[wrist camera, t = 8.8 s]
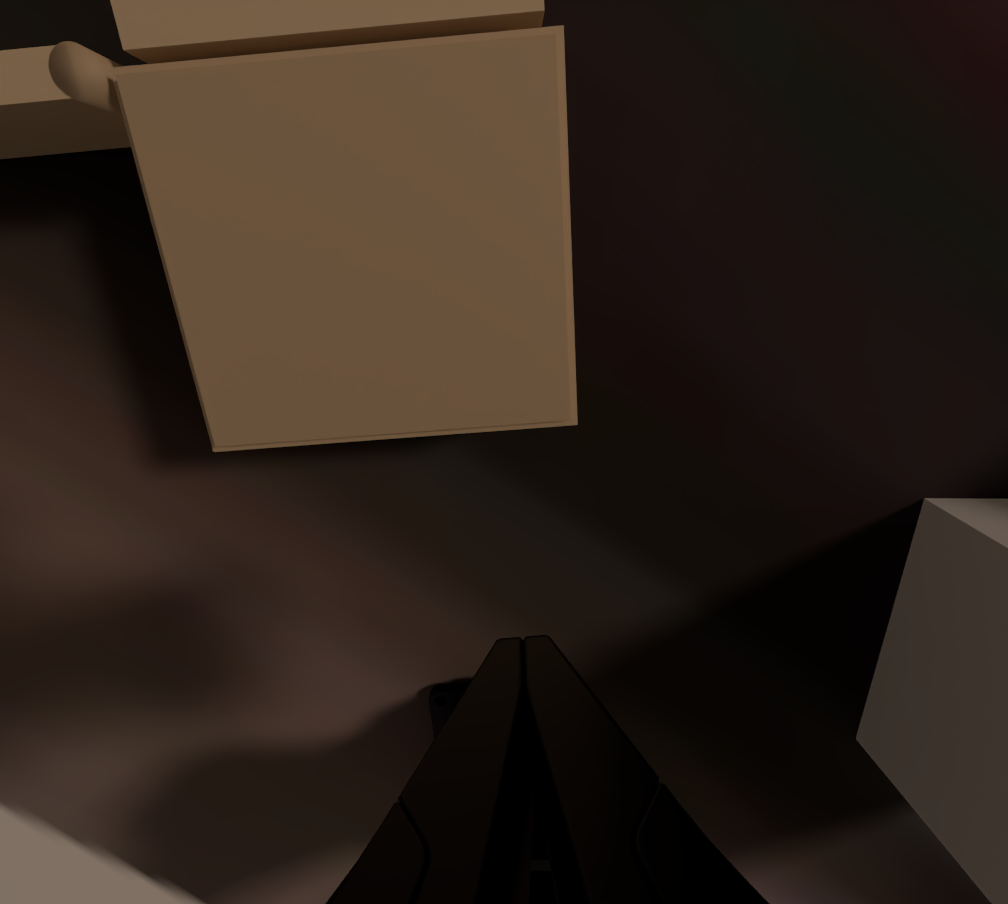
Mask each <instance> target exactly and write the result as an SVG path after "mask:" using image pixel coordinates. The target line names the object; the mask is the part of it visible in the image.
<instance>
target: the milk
mask: <svg viewBox="0 0 1008 904" xmlns="http://www.w3.org/2000/svg"><path fill="white" fill-rule="evenodd" d="M856 740H857V741H858V742H859V743H860V745H861V746H862V747H863V748H864V749H865V751H866V752H867V753H868V754H869V756H870V757H871V758H872V759H873V760H874V762H875V763H876V764H877V765H878V766H879V768H880V769H881V770H882V771H883V772H884V774H885V775H886V776H887V777H888V779H889V780H890V781H891V782H892V783H893V785H894V786H895V787H896V788H897V789H898V791H899V792H900V793H901V794H902V795H903V797H904V798H905V799H906V800H907V802H908V803H909V804H910V805H911V806H912V808H913V809H914V810H915V811H916V812H917V814H918V815H919V816H920V817H921V818H922V820H923V821H924V822H925V823H926V825H927V826H928V827H929V828H930V829H931V831H932V832H933V833H934V834H935V835H936V837H937V838H938V839H939V840H940V841H941V843H942V844H943V845H944V846H945V848H946V849H947V850H948V851H949V852H950V854H951V855H952V856H953V857H954V858H955V860H956V861H957V862H958V863H959V864H960V866H961V867H962V868H963V869H964V871H965V872H966V873H967V874H968V875H969V877H970V878H971V879H972V880H973V881H974V883H975V884H976V885H977V886H978V887H979V889H980V890H981V891H982V892H983V894H984V895H985V896H986V897H987V898H988V900H989V901H990V902H991V903H992V904H1008V499H954V498H924V501H923V504H922V508H921V511H920V515H919V518H918V522H917V525H916V529H915V532H914V536H913V539H912V543H911V546H910V550H909V553H908V557H907V560H906V564H905V567H904V571H903V574H902V578H901V581H900V585H899V588H898V592H897V595H896V599H895V602H894V606H893V609H892V613H891V616H890V620H889V623H888V627H887V630H886V634H885V637H884V641H883V644H882V648H881V651H880V655H879V658H878V662H877V665H876V669H875V672H874V676H873V679H872V683H871V686H870V690H869V693H868V697H867V700H866V704H865V707H864V711H863V714H862V718H861V721H860V725H859V728H858V732H857V735H856Z"/></svg>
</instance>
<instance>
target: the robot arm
mask: <svg viewBox="0 0 1008 904" xmlns="http://www.w3.org/2000/svg"><path fill="white" fill-rule="evenodd" d="M439 696H441V697H444V699H439V698H438V697H439ZM429 705H430V711H431V718H432V724H433V731H434V737H435V740H434V741H433V743H432V745H431V746H430V748H429V749H428V751H427V753H426V754H425V756H424V757H423V759H422V761H421V762H420V764H419V765H418V767H417V769H416V770H415V772H414V773H413V775H412V777H411V778H410V780H409V781H408V783H407V785H406V786H405V788H404V789H403V791H402V793H401V794H400V796H399V797H398V802H396V803H395V804H394V805H393V806H392V808H391V810H390V811H389V813H388V815H387V816H386V818H385V819H384V821H383V823H382V824H381V826H380V827H379V829H378V830H377V832H376V833H375V835H374V836H373V838H372V839H371V841H370V842H369V844H368V845H367V847H366V848H365V850H364V851H363V853H362V855H361V856H360V858H359V859H358V861H357V862H356V863H355V865H354V866H353V867H352V869H351V870H350V871H349V873H348V874H347V876H346V877H345V878H344V880H343V881H342V882H341V884H340V885H339V886H338V888H337V889H336V890H335V892H334V893H333V894H332V896H331V897H330V898H329V900H328V901H327V902H326V904H769V903H768V902H767V901H766V900H765V899H764V898H763V897H762V896H761V895H760V894H759V893H758V891H757V890H756V889H755V888H754V887H753V886H752V885H751V884H750V883H749V882H748V881H747V880H746V879H745V878H744V877H743V876H742V875H741V874H740V873H739V872H738V870H737V869H736V868H735V867H734V866H733V865H732V864H731V863H730V862H729V861H728V860H727V859H726V857H725V856H724V855H723V854H722V853H721V852H720V851H719V850H718V849H717V848H716V847H715V846H714V845H713V843H712V842H711V841H710V840H709V839H708V838H707V837H706V835H705V834H704V833H703V832H702V831H701V829H700V828H699V827H698V826H697V824H696V823H695V822H694V821H693V820H692V818H691V817H690V816H689V815H688V814H687V812H686V811H685V810H684V809H683V808H682V806H681V805H680V804H679V802H678V801H677V800H676V799H675V797H674V796H673V795H672V793H671V792H670V791H669V789H668V788H667V787H666V786H665V785H664V784H661V780H660V778H659V777H658V776H657V774H656V773H655V772H654V771H653V769H652V768H651V767H650V765H649V764H648V763H647V762H646V760H645V759H644V758H643V756H642V755H641V754H640V753H639V751H638V750H637V749H636V747H635V746H634V745H633V743H632V742H631V741H630V740H629V738H628V737H627V736H626V734H625V733H624V732H623V731H622V729H621V728H620V727H619V725H618V724H617V723H616V722H615V720H614V719H613V718H612V716H611V715H610V714H609V713H608V711H607V710H606V709H605V707H604V706H603V705H602V704H601V702H600V701H599V700H598V698H597V697H596V696H595V695H594V693H593V692H592V691H591V689H590V688H589V687H588V685H587V684H586V683H585V682H584V680H583V679H582V678H581V676H580V675H579V674H578V673H577V671H576V670H575V669H574V667H573V666H572V665H571V664H570V662H569V661H568V660H567V658H566V657H565V656H564V655H563V653H562V652H561V651H560V649H559V648H558V647H557V646H556V644H555V643H554V642H553V640H552V639H551V638H550V637H549V636H547V635H539V636H527V637H525V638H524V640H522V639H521V638H520V637H514V638H501V639H498V640H497V641H496V642H495V644H494V645H493V647H492V649H491V650H490V652H489V653H488V655H487V657H486V658H485V660H484V661H483V663H482V665H481V666H480V668H479V669H478V671H477V673H476V674H475V676H474V677H473V679H472V681H471V682H470V683H464V684H449V685H438V686H435V687H434V688H432V690H431V691H430V697H429Z"/></svg>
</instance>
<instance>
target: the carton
mask: <svg viewBox="0 0 1008 904" xmlns="http://www.w3.org/2000/svg"><path fill="white" fill-rule="evenodd" d="M110 1H111V5H112V9H113V12H114V16H115V20H116V24H117V28H118V32H119V35H120V39H121V43H122V47H123V50H124V51H126V52H128V53H130V54H131V55H133V56H135V57H137V58H139V59H141V60H142V61H144V62H146V63H148V64H145V65H134V66H124V67H113V68H110V71H111V75H112V78H113V82H114V86H115V89H116V93H117V97H118V100H119V104H120V108H121V112H122V115H123V119H124V123H125V126H126V130H127V134H128V137H129V141H130V145H131V149H132V152H133V156H134V160H135V163H136V167H137V171H138V175H139V178H140V182H141V186H142V189H143V193H144V197H145V200H146V204H147V208H148V212H149V215H150V219H151V223H152V226H153V230H154V234H155V238H156V241H157V245H158V249H159V252H160V256H161V260H162V263H163V267H164V271H165V275H166V278H167V282H168V286H169V289H170V293H171V297H172V301H173V304H174V308H175V312H176V315H177V319H178V323H179V326H180V330H181V334H182V338H183V341H184V345H185V349H186V352H187V356H188V360H189V364H190V367H191V371H192V375H193V378H194V382H195V386H196V389H197V393H198V397H199V401H200V404H201V408H202V412H203V415H204V419H205V423H206V427H207V430H208V434H209V438H210V441H211V445H212V449H213V452H221V451H234V450H247V449H261V448H274V447H287V446H301V445H314V444H328V443H341V442H354V441H368V440H381V439H395V438H408V437H421V436H435V435H448V434H461V433H475V432H488V431H502V430H515V429H528V428H542V427H555V426H568V425H578V423H577V395H576V366H575V337H574V308H573V279H572V251H571V222H570V193H569V164H568V135H567V107H566V78H565V49H564V25H563V26H552V27H542V22H543V16H544V0H110Z"/></svg>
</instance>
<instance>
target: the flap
mask: <svg viewBox="0 0 1008 904" xmlns="http://www.w3.org/2000/svg"><path fill="white" fill-rule="evenodd" d="M113 67H123V66H121V65H119V64H117V63H115V62H113V61H111V60H109V59H107V58H105V57H103V56H101V55H99V54H97V53H95V52H93V51H91V50H89V49H87V48H85V47H83V46H81V45H79V44H77V43H74V42H69V41H65V42H61V43H59V44H57V45H53V46H43V47H33V48H23V49H13V50H3V51H0V159H8V158H19V157H30V156H40V155H51V154H61V153H72V152H83V151H93V150H104V149H115V148H125V147H131V145H130V141H129V137H128V134H127V130H126V126H125V123H124V119H123V115H122V112H121V108H120V104H119V100H118V97H117V93H116V89H115V86H114V82H113V78H112V75H111V71H110V68H113Z"/></svg>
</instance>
